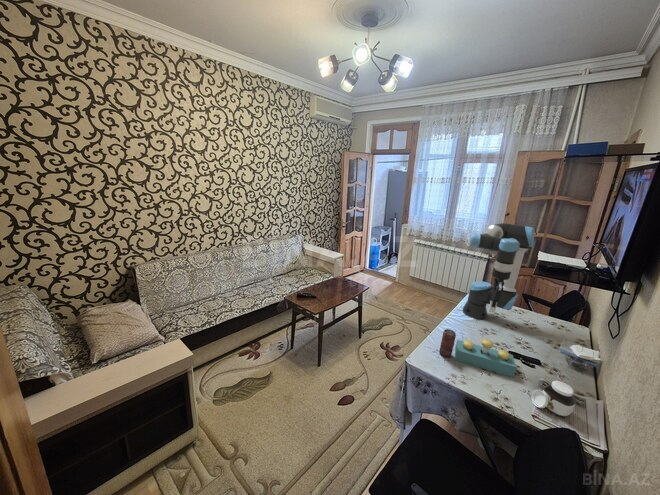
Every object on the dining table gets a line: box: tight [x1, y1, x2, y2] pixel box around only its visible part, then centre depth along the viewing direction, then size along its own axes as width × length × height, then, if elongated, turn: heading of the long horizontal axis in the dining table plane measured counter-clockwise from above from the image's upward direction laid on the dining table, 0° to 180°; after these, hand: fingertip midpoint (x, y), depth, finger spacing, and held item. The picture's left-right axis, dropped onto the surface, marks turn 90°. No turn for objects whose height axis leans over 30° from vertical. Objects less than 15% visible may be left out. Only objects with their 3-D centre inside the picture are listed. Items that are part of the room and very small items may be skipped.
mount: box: [454, 339, 517, 378], centre depth 138 cm, size 10×26×6 cm, turn 65°
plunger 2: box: [497, 349, 511, 361], centre depth 134 cm, size 5×5×8 cm
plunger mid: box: [481, 338, 494, 355], centre depth 136 cm, size 5×5×8 cm
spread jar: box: [530, 380, 576, 417], centre depth 112 cm, size 12×11×12 cm
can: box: [438, 328, 457, 359], centre depth 141 cm, size 6×6×14 cm
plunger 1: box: [463, 339, 475, 350], centre depth 140 cm, size 5×5×8 cm
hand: (491, 311), depth 140 cm, fingers closed
